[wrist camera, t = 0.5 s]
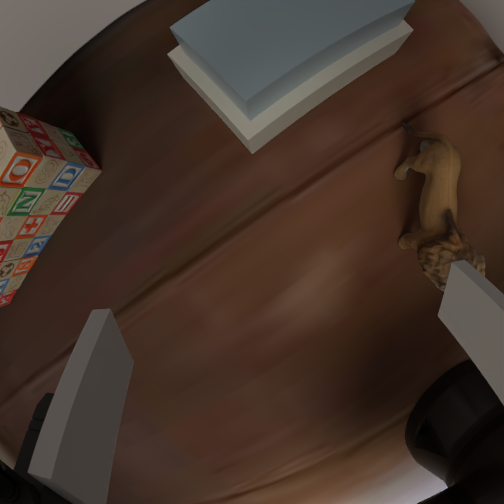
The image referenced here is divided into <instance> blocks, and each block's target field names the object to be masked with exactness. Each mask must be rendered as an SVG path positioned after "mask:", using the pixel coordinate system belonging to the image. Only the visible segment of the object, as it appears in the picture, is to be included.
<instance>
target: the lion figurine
mask: <svg viewBox="0 0 504 504" xmlns="http://www.w3.org/2000/svg"><path fill="white" fill-rule="evenodd" d="M402 124H403V128H404V130H405V131H406V132H407V133H409V134H411V135H413V136H417V137H420V138H426V139H424V140H422V142H421V143H420V151H421V152H420V153H419V154H418V155H417V156H415V157H411V156H409V157H408V158H407V159H406V160H405V161H404V162H403V163H402V164H401V165H399V166H398V167H397V168H396V170H395V171H394V177H395V179H396V180H399V181H403V180H405V178H406V174H407V170H408V168H412V169H414V170H415V171H417V172H422V173H424V174H425V176H426V179H425V183H424V186H423V189H422V193H421V196H420V204H419V214H420V222H421V228H420V229H419V230H417V231H416V232H415V233H406V234H404V235H402V236H401V237H400V238H399V240H398V245H399V247H400V248H402V249H408V248H409V247H410V246H411V247H413V248H415V249H418V251H417V254H418V263H419V264H420V265H421V266H422V267H423V272H424V274H425V275H426V276H428V277H429V278H430V280H431V281H432V282H434V284H435V285H436V287H437V288H439V289H440V290H442V291H443V292H444V291H445V288H446V284H447V280H448V276H449V272H450V267H451V263H452V262H455V261H460V260H465V261H467V262H468V263H469V264H470V265H471V266H473V267H474V268H475V269H476V270H477V271H478V272H479V273H481V274H482V275H483V276H484V277H485V271H484V269H485V266H486V265H485V259H484V256H483V255H479V254H477V252H476V251H475V250H474V248H473V247H471V246H470V245H469V242H468V238H467V237H466V236H465V235H463V234H462V233H461V230H460V228H459V226H458V219H457V217H458V201H457V181H458V177H459V173H460V169H461V159H460V155H459V152H458V150H457V148H456V147H454V146H452V144H451V142H450V140H449V139H448V138H447V137H445V136H444V135H442V134H440V133H435V132H419V131H416V130H414V129H412V128H411V127H410V126H408V125H407V124H406V123H405V122H403V123H402Z"/></svg>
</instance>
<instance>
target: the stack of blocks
mask: <svg viewBox="0 0 504 504" xmlns="http://www.w3.org/2000/svg"><path fill="white" fill-rule="evenodd" d="M101 171H102V170H101V168H100V167H99V166H98V165H97V163H96V162H95V161H94V160H93V158H92V157H91V156H90V155H89V153H88V152H87V151H86V150H85V149H84V148H83V146H82V145H81V144H80V142H79V141H78V140H77V138H76V137H75V136H74V134H73V133H71V132H68V131H66V130H63V129H60V128H58V127H54V126H52V125H49V124H47V123H44V122H42V121H39V120H37V119H35V118H32V117H30V116H27V115H24V114H21V113H19V112H14V111H11V110H8V109H5V108H2V107H0V307H2V306H4V305H7V304H9V303H10V302H11V300H12V298H13V296H14V294H15V292H16V291H17V289H18V288H19V287H20V285H21V283H22V282H23V280H24V278H25V276H26V275H27V272H28V271H29V270H30V268H31V267H32V265H33V264H34V262H35V260H36V259H37V257H38V254H39V253H40V252H41V250H42V249H43V247H44V246H45V244H46V243H47V241H48V240H49V238H50V237H51V235H52V234H53V232H54V231H55V229H56V228H57V226H58V225H59V224H60V222H61V221H62V220H63V218H64V217H65V215H67V214H68V212H69V211H70V210H71V208H72V207H73V206H74V205H75V203H76V202H77V201H78V199H79V198H80V197H81V196H82V194H83V193H84V192H85V191H86V190H87V188H88V187H89V186H90V185H91V184H92V182H93V181H94V180H95V179H96V178H97V176H98V175H99V174H100V173H101Z"/></svg>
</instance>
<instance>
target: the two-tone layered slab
mask: <svg viewBox="0 0 504 504" xmlns="http://www.w3.org/2000/svg"><path fill="white" fill-rule="evenodd" d="M414 2H415V0H210V1H209V2H207V3H205V4H204V5H202V6H201V7H199V8H197V9H196V10H194V11H193V12H191V13H190V14H188V15H187V16H185V17H184V18H182V19H181V20H179V21H178V22H176V23H175V24H174V25H172V26H171V27H170V29H171V31H172V32H173V34H174V36H175V38H176V39H177V41H178V43H179V46H177V47H176V48H175V49H173V50H172V51H171V52H169V53H168V56H169V57H170V59H171V60H172V62H173V63H174V65H175V66H176V68H177V69H178V71H179V72H180V74H181V75H182V76H183V78H184V79H185V80H186V81H187V82H188V83H189V84H190V85H191V86H192V87H193V89H194V90H195V91H196V92H197V93H198V94H199V95H200V96H201V97H202V98H203V99H204V100H205V101H206V103H207V104H208V105H209V106H210V107H211V108H212V109H213V110H214V111H215V112H216V113H217V115H218V116H219V117H220V118H221V119H222V120H223V121H224V122H225V123H226V125H227V126H228V127H229V128H230V129H231V130H232V131H233V133H234V134H235V135H236V136H237V137H238V138H239V139H240V140H241V142H242V143H243V144H244V145H245V146H246V147H247V149H248V150H249V151H250V152H251V153H252V154H253V153H254V152H256V151H257V150H258V149H260V148H261V147H262V146H263V145H265V144H266V143H267V142H269V141H270V140H271V139H272V138H274V137H275V136H276V135H278V134H279V133H280V132H282V131H283V130H284V129H286V128H287V127H288V126H290V125H291V124H292V123H294V122H295V121H296V120H298V119H299V118H300V117H302V116H303V115H305V114H306V113H307V112H309V111H310V110H311V109H313V108H314V107H316V106H317V105H318V104H320V103H321V102H323V101H324V100H325V99H327V98H328V97H330V96H331V95H333V94H334V93H336V92H337V91H338V90H340V89H341V88H343V87H344V86H346V85H347V84H349V83H350V82H352V81H353V80H355V79H356V78H358V77H359V76H361V75H362V74H364V73H365V72H367V71H368V70H370V69H371V68H373V67H374V66H376V65H378V64H379V63H381V62H382V61H384V60H385V59H387V58H389V57H390V56H392V55H394V54H395V53H396V52H397V50H398V49H399V48H400V47H401V45H402V44H403V43H404V41H405V40H406V39H407V38H408V36H409V35H410V34H411V33H412V31H413V29H412V28H411V27H410V26H409V25H408V24H407V23H406V22H405V21H404V20H403V18H404V17H405V16H406V14H407V13H408V11H409V10H410V8H411V7H412V5H413V4H414Z"/></svg>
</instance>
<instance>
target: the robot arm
mask: <svg viewBox="0 0 504 504" xmlns="http://www.w3.org/2000/svg"><path fill="white" fill-rule="evenodd" d="M438 317H439V318H440V320H441V321H442V322H443V323H444V325H445V326H446V327H447V328H448V330H449V331H450V332H451V333H452V335H453V336H454V337H455V338H456V340H457V341H458V342H459V344H460V345H461V346H462V347H463V349H464V350H465V351H466V353H467V354H468V355H469V357H470V358H471V360H468V361H465V362H463V363H461V364H459V365H458V366H456V367H454V368H453V369H451V370H450V371H448V372H447V373H446V374H444V375H443V376H442V377H441V378H440V379H439V380H437V381H436V382H435V383H434V384H433V385H432V386H431V387H430V388H429V390H428V391H427V392H426V393H425V394H424V395H423V397H422V398H421V399H420V401H419V402H418V404H417V405H416V407H415V408H414V410H413V412H412V414H411V416H410V418H409V421H408V424H407V427H406V433H405V440H406V444H407V447H408V449H409V451H410V453H411V454H412V456H413V458H414V459H415V460H416V462H417V463H419V464H420V465H421V466H423V467H424V468H426V469H427V470H428V471H430V472H431V473H433V474H434V475H436V476H437V477H439V478H440V479H441V480H443V481H444V482H445V483H446V485H447V487H448V488H447V489H445V490H443V491H442V492H440V493H438V494H436V495H434V496H432V497H430V498H428V499H426V500H423V501H421V502H419V503H417V504H504V294H503V293H502V292H501V291H499V290H498V289H497V288H496V287H495V286H494V285H493V284H492V283H491V282H490V281H488V280H487V279H486V278H485V277H484V276H483V275H482V274H481V273H479V272H478V271H477V270H476V269H475V268H474V267H473V266H471V265H470V264H469V263H468V262H467V261H465V260H460V261H455V262H452V263H451V267H450V272H449V276H448V280H447V284H446V288H445V291H444V295H443V299H442V302H441V306H440V309H439V312H438ZM133 364H134V361H133V359H132V357H131V355H130V353H129V350H128V348H127V346H126V344H125V342H124V339H123V337H122V335H121V333H120V330H119V328H118V326H117V323H116V321H115V318H114V316H113V314H112V311H111V309H99V310H92V312H91V314H90V316H89V318H88V320H87V322H86V324H85V326H84V328H83V330H82V332H81V334H80V337H79V339H78V341H77V343H76V345H75V347H74V349H73V352H72V354H71V356H70V358H69V361H68V363H67V365H66V367H65V370H64V372H63V374H62V377H61V379H60V382H59V384H58V386H57V389H56V391H55V394H53V393H46V395H45V396H44V397H43V398H42V399H41V400H40V402H39V403H38V404H37V406H36V409H35V411H34V414H33V416H32V418H33V420H31V422H30V424H29V427H28V428H29V430H28V431H27V432H26V435H25V438H24V441H23V444H22V447H21V450H20V453H19V456H18V459H17V462H16V465H15V467H14V470H12V469H11V468H10V467H8V466H7V465H6V464H5V463H3V462H2V461H1V460H0V504H106V501H107V494H108V487H109V481H110V474H111V468H112V462H113V457H114V451H115V446H116V440H117V435H118V430H119V425H120V420H121V416H122V411H123V407H124V402H125V398H126V393H127V389H128V385H129V381H130V376H131V372H132V368H133Z"/></svg>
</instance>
